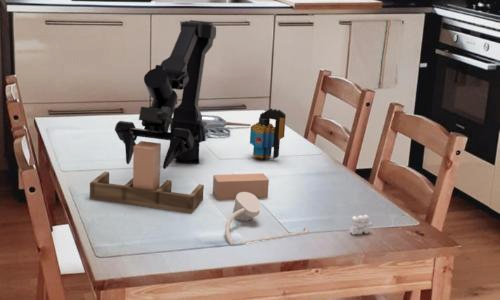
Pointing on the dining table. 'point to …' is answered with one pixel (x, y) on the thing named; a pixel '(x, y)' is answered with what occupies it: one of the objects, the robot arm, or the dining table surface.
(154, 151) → the clay bar
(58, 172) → the dining table surface
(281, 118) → the toy
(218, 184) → the clay bar
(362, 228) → the white beaded block
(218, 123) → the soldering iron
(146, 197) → the tray
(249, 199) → the toilet paper hanger
